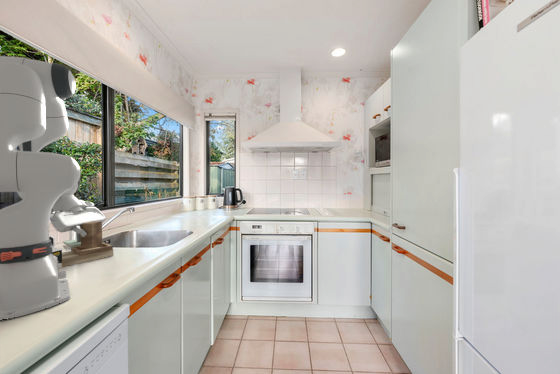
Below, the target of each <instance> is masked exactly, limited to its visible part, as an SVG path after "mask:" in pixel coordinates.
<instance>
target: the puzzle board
mask: <svg viewBox="0 0 560 374" xmlns="http://www.w3.org/2000/svg"><path fill="white" fill-rule="evenodd" d="M113 247H114V246H113V245H112V244H109V243H107V242H104V241H103V242H102V246H99V247H95V248H81V246H76V247H70V250H69V251H64V252H63V251H62V268H63V267H67V266H71V265H72V266H73V265H77V264H81V263H86V262H91V261H96V260H99V259H104V257H105V258H109V256H110V257H114V248H113Z"/></svg>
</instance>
